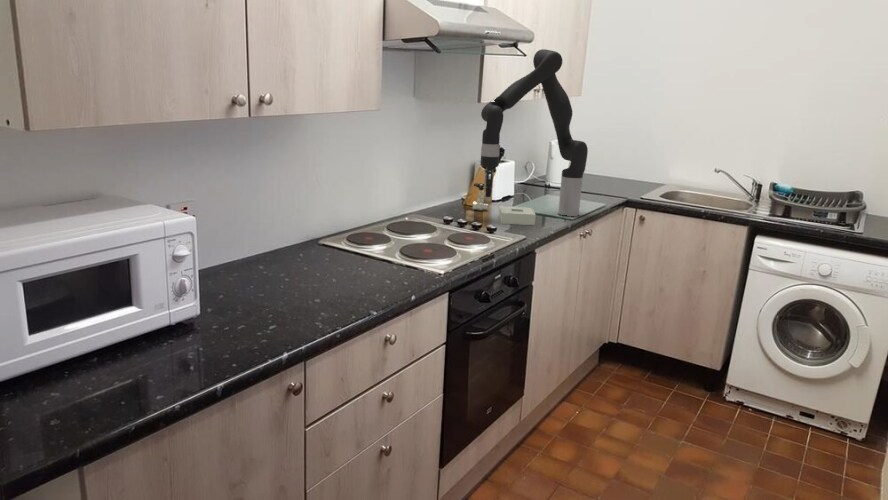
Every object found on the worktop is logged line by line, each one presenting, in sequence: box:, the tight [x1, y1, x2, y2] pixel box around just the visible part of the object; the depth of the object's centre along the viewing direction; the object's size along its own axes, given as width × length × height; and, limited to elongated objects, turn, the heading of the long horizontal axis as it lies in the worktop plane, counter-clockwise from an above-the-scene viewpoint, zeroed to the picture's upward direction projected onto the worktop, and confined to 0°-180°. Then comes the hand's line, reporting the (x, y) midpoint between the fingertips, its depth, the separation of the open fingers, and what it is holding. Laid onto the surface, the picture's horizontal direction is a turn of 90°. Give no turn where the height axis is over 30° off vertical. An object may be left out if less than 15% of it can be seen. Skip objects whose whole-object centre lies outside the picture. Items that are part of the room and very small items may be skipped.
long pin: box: [483, 180, 494, 205], centre depth 271 cm, size 4×4×10 cm
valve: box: [472, 182, 489, 212], centre depth 292 cm, size 7×7×12 cm
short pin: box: [465, 209, 475, 223], centre depth 272 cm, size 4×4×4 cm
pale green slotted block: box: [498, 205, 537, 226], centre depth 275 cm, size 14×14×4 cm
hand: (487, 195), depth 272 cm, fingers closed on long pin, 3 cm apart
